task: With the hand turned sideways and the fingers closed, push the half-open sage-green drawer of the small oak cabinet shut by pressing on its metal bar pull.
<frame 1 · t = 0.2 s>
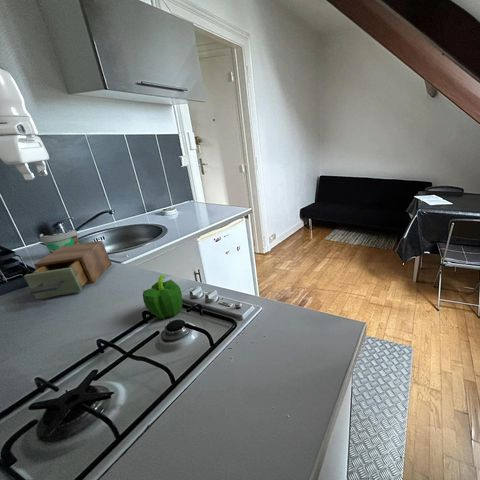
hand: (37, 177, 80), 33 cm above the worktop, tool pointing down, fingers open, 8 cm apart
cabinet: (82, 276, 90), on the worktop
bell pepper: (170, 313, 68), on the worktop
food container: (64, 257, 107), on the worktop
drawer: (62, 276, 80), point 5 cm above the worktop, slide at 5.0 cm
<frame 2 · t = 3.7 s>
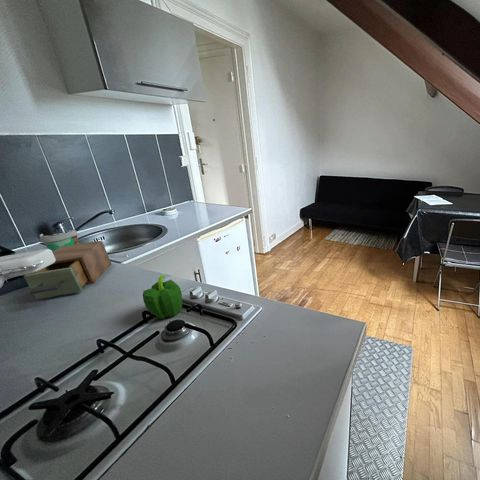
hand: (16, 257, 65), 17 cm above the worktop, tool horizontal, fingers open, 8 cm apart
nothing on the worktop moved.
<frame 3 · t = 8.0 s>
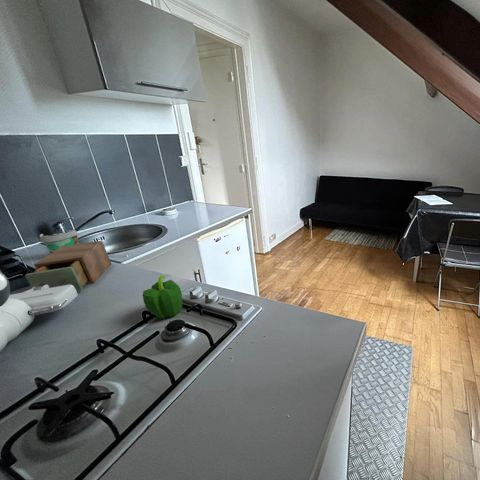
hand: (42, 287, 72), 6 cm above the worktop, tool horizontal, fingers closed, pressing on drawer
drawer: (63, 275, 80), point 5 cm above the worktop, slide at 4.4 cm, touching gripper
everything else where it was.
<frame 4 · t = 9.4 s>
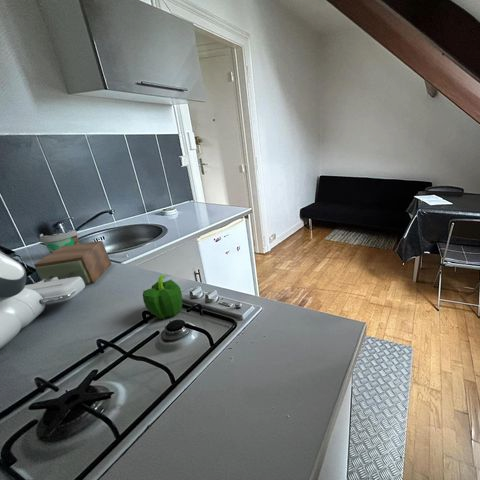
hand: (52, 279, 76), 6 cm above the worktop, tool horizontal, fingers closed, pressing on drawer
drawer: (70, 269, 84), point 5 cm above the worktop, slide at 0.0 cm, touching cabinet, gripper
everything else where it was.
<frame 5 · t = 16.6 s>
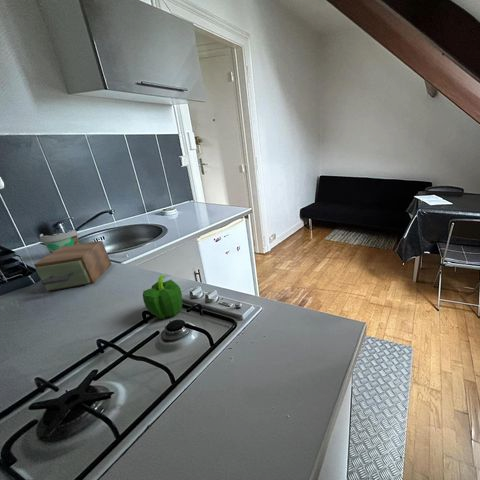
drawer: (70, 269, 84), point 5 cm above the worktop, slide at 0.0 cm, touching cabinet
everything else where it was.
at the end: drawer slide at 0.0 cm; bell pepper moved 0.2 cm from its start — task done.
